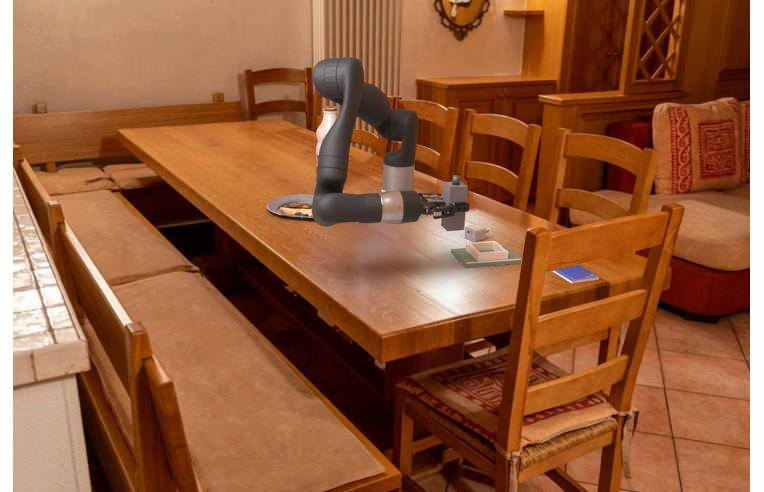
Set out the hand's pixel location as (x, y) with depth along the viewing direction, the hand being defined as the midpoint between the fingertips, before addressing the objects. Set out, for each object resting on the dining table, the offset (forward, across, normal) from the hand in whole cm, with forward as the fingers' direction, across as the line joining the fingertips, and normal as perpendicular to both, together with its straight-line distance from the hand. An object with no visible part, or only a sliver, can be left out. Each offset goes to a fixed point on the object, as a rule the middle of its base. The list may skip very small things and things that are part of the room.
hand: (464, 203), depth 167 cm
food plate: (-29, +55, +18) cm, 65 cm away
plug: (-3, 0, +6) cm, 7 cm away
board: (+10, +7, +18) cm, 22 cm away
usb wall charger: (+14, +22, +18) cm, 32 cm away
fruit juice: (-18, +80, +18) cm, 84 cm away
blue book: (+28, -6, +18) cm, 34 cm away
